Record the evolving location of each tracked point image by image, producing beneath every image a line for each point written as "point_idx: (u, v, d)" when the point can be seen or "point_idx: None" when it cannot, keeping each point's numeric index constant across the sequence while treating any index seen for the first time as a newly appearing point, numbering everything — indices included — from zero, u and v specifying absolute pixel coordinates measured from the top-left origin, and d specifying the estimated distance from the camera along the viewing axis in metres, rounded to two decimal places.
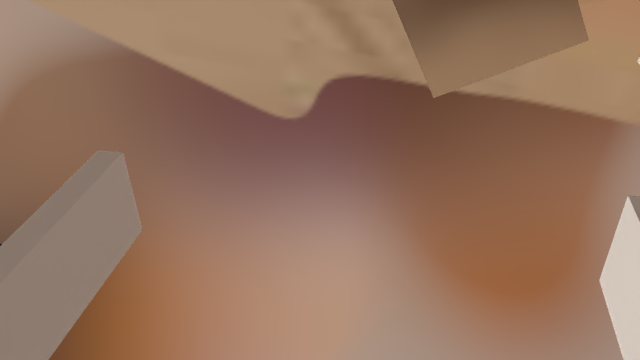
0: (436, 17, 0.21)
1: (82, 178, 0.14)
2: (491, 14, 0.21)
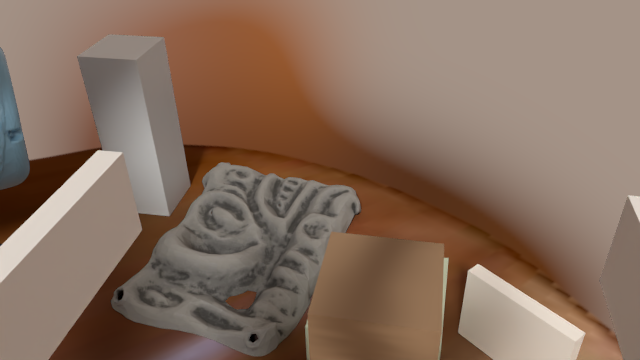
0: (376, 302, 0.26)
1: (82, 178, 0.14)
2: (395, 276, 0.28)
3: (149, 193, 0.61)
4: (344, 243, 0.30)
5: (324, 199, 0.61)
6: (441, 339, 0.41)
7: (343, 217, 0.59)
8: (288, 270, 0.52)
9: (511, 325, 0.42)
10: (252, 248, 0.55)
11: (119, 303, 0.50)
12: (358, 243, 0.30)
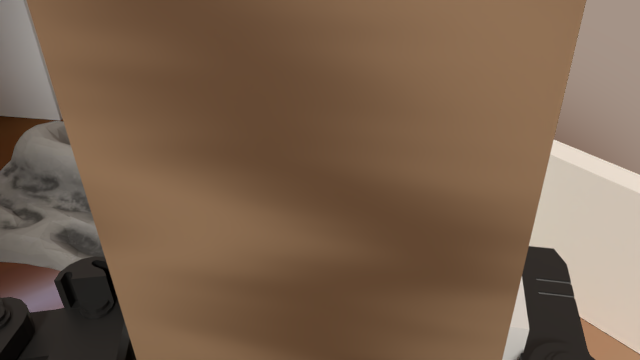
0: None
1: None
2: None
3: (28, 82, 0.41)
4: None
5: None
6: None
7: None
8: None
9: (607, 235, 0.23)
10: None
11: None
12: None
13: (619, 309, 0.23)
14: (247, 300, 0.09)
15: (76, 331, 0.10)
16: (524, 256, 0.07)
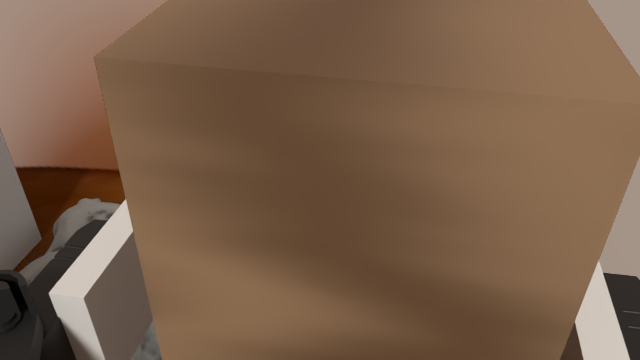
0: (370, 37, 0.07)
1: None
2: None
3: None
4: None
5: None
6: None
7: None
8: None
9: None
10: None
11: None
12: None
13: None
14: None
15: None
16: (562, 342, 0.08)
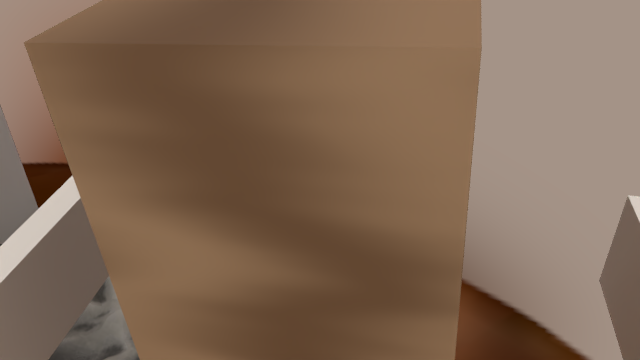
0: (262, 14, 0.08)
1: None
2: None
3: None
4: None
5: None
6: None
7: None
8: None
9: None
10: None
11: None
12: None
13: None
14: (233, 321, 0.10)
15: None
16: (460, 283, 0.08)
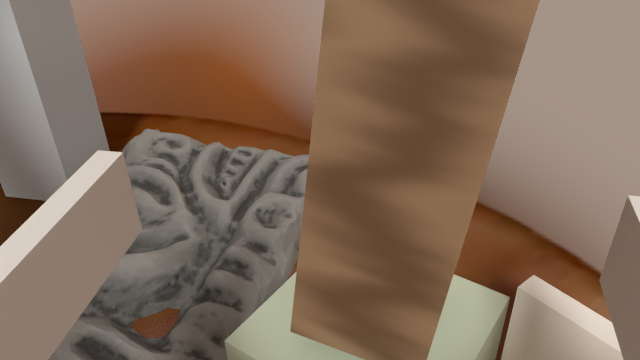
0: None
1: (82, 178, 0.14)
2: None
3: (43, 170, 0.42)
4: None
5: (287, 173, 0.43)
6: None
7: None
8: (228, 275, 0.34)
9: None
10: (178, 244, 0.38)
11: None
12: None
13: None
14: (384, 73, 0.18)
15: None
16: None
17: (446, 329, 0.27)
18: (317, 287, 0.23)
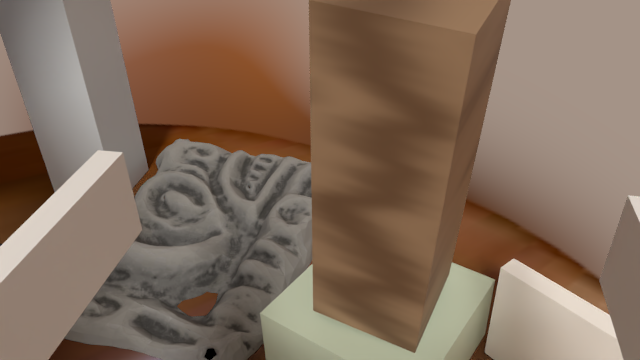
0: (401, 2, 0.20)
1: (82, 178, 0.14)
2: None
3: None
4: None
5: (304, 177, 0.49)
6: None
7: None
8: (258, 264, 0.40)
9: (564, 344, 0.30)
10: (213, 238, 0.44)
11: None
12: None
13: None
14: (359, 131, 0.23)
15: None
16: (458, 127, 0.20)
17: (441, 304, 0.33)
18: (329, 280, 0.29)
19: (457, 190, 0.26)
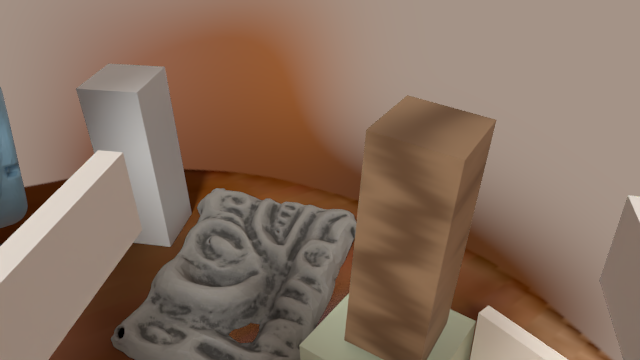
0: (422, 136, 0.33)
1: (82, 178, 0.14)
2: (444, 127, 0.34)
3: (150, 223, 0.60)
4: (414, 103, 0.37)
5: (323, 224, 0.60)
6: None
7: (343, 242, 0.58)
8: (291, 301, 0.51)
9: None
10: (253, 278, 0.55)
11: (120, 341, 0.49)
12: (426, 105, 0.37)
13: None
14: (390, 211, 0.35)
15: None
16: (453, 214, 0.33)
17: None
18: (359, 316, 0.41)
19: (453, 256, 0.38)
